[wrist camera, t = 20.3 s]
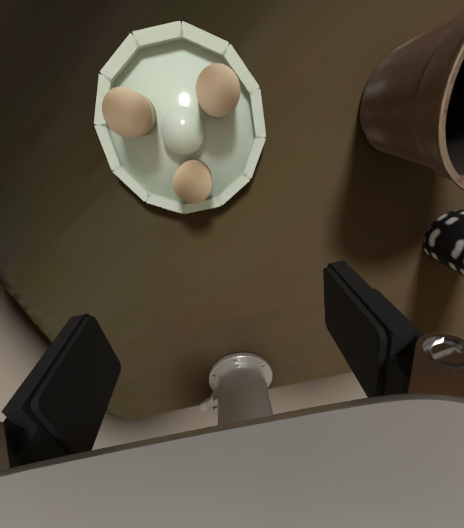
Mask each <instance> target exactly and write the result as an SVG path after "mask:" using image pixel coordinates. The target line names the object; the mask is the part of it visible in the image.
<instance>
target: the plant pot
mask: <svg viewBox="0 0 464 528" xmlns="http://www.w3.org/2000/svg"><path fill="white" fill-rule="evenodd" d="M360 124H361V128H362V130H363V131H364V133H365V135H366V138H367V140H368V142H369V144H370V145H371V146H373V147H374V148H375V149H377V150H378V151H381V152H383V153H386V154H390V155H393V156H396V157H399V158H402V159H405V160H408V161H411V162H413V163H416V164H419V165H422V166H425V167H427V168H430V169H432V170H433V171H434V172H435V173H437V174H438V175H440V176H442V177H444V178H447V179H450V180H452V181H453V182H454V183H455V184H456V185H457V186H458V187H460V188H461V189H463V190H464V9H463V10H462V11H460V12H458V13H457V14H455V15H453V16H451V17H450V18H448V19H446V20H445V21H443V22H441V23H439V24H438V25H436V26H434V27H432V28H431V29H429V30H427V31H425V32H423V33H422V34H420V35H418V36H416V37H415V38H413V39H411V40H410V41H408V42H406V43H404V44H402V45H400V46H399V47H397V48H396V49H395V50H393V51H392V52H391V53H390V54H389V55H388V56H386V57H385V58H384V59H383V60H382V61H381V62H380V63H379V64H378V66H377V67H376V68H375V70H374V71H373V73H372V75H371V76H370V78H369V80H368V82H367V85H366V87H365V90H364V93H363V96H362V101H361V106H360Z"/></svg>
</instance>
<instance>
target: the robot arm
mask: <svg viewBox="0 0 464 528" xmlns="http://www.w3.org/2000/svg"><path fill="white" fill-rule="evenodd" d="M323 274H324V302H325V322H326V326H327V329H328V331H329V332H330V334H331V336H332V337H333V339H334V341H335V342H336V344H337V346H338V348H339V349H340V351H341V353H342V354H343V356H344V358H345V359H346V361H347V363H348V364H349V366H350V368H351V370H352V371H353V373H354V374H355V376H356V378H357V380H358V381H359V383H360V385H361V386H362V388H363V390H364V392H365V393H366V395H367V397H368V398H363V399H357V400H351V401H346V402H340V403H334V404H328V405H322V406H317V407H311V408H306V409H301V410H296V411H290V412H285V413H280V414H275V415H273V411H272V407H271V402H270V398H269V393H268V386H269V385H270V383H271V381H272V370H271V367H270V365H269V363H268V362H267V361H266V360H265V359H264V358H262V357H260V356H258V355H256V354H252V353H235V354H231V355H228V356H225V357H223V358H222V359H220V360H219V361H217V362H216V363H215V364H214V365H213V367H212V368H211V370H210V373H209V384H210V387H211V389H212V390H213V393H211V394H210V397H209V398H206V399H205V400H203V401H202V402H200V404H199V408H200V409H201V411H202V412H205V411H207V410H208V409H210V408H211V407H212V406H214V405H215V406H214V407H213V410H214V412H215V413H218V425H217V426H213V427H207V428H202V429H197V430H192V431H187V432H182V433H177V434H171V435H167V436H162V437H156V438H151V439H147V440H142V441H137V442H131V443H126V444H122V445H116V446H112V447H107V448H102V449H97V450H92V447H93V445H94V442H95V439H96V437H97V434H98V431H99V428H100V426H101V423H102V420H103V418H104V415H105V412H106V409H107V407H108V404H109V401H110V398H111V396H112V393H113V390H114V388H115V385H116V382H117V379H118V377H119V374H120V371H121V365H120V362H119V360H118V358H117V356H116V354H115V353H114V351H113V349H112V347H111V345H110V344H109V342H108V340H107V338H106V336H105V335H104V333H103V331H102V329H101V327H100V326H99V324H98V322H97V320H96V319H95V317H93V316H90V315H89V314H83V315H78V316H74V317H71V318H70V319H69V321H68V322H67V323H66V325H65V326H64V327H63V329H62V330H61V332H60V333H59V334H58V336H57V337H56V338H55V340H54V341H53V342H52V344H51V345H50V347H49V348H48V349H47V351H46V352H45V354H44V355H43V356H42V357H41V359H40V360H39V361H38V363H37V364H36V366H35V367H34V368H33V370H32V371H31V373H30V374H29V375H28V376H27V378H26V379H25V380H24V382H23V383H22V385H21V386H20V387H19V389H18V390H17V391H16V393H15V394H14V395H13V397H12V398H11V399H10V401H9V402H8V404H7V405H6V406H5V408H4V409H3V410H2V413H3V414H4V415H5V416H6V417H7V418H6V419H5V420H4V422H3V423H2V422H0V528H464V339H462V338H460V337H457V336H453V335H450V334H445V333H429V334H425V335H424V334H423V333H422V332H421V331H420V330H419V329H418V328H417V327H416V326H414V325H413V324H412V323H411V322H410V321H409V320H408V319H407V318H406V317H405V316H404V315H403V314H402V313H401V312H400V311H399V310H398V309H397V308H396V307H395V306H394V305H393V304H392V303H390V302H389V301H388V300H387V299H386V298H385V297H384V296H383V295H382V294H381V293H380V292H379V291H378V290H376V289H373V288H371V287H370V286H369V285H368V284H367V283H366V282H365V281H364V280H363V279H362V278H361V277H360V276H359V275H358V274H357V273H356V272H355V271H354V270H353V269H352V268H351V267H350V266H349V265H348V264H347V263H346V262H345V261H339V262H334V263H329V264H328V266H327V268H324V270H323ZM91 450H92V451H91Z"/></svg>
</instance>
